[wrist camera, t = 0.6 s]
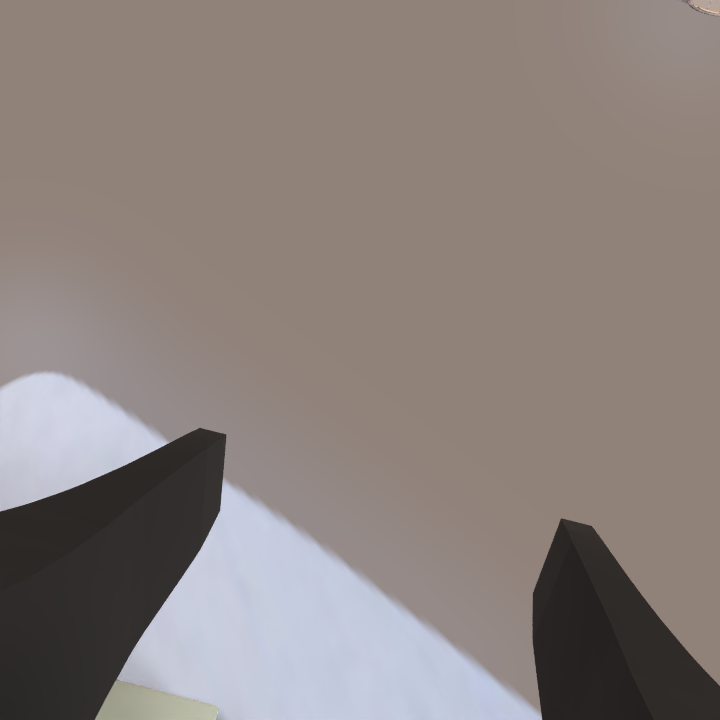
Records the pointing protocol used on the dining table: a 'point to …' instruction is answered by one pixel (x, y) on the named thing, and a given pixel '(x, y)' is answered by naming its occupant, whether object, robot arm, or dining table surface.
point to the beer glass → (706, 6)
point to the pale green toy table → (151, 705)
